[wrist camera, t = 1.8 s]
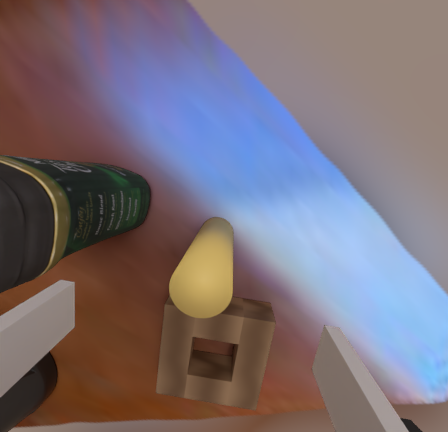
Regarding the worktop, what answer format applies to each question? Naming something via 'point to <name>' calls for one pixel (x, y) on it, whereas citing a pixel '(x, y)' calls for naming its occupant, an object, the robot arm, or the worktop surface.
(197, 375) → the socket block
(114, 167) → the coffee jar
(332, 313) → the worktop surface
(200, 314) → the peg
